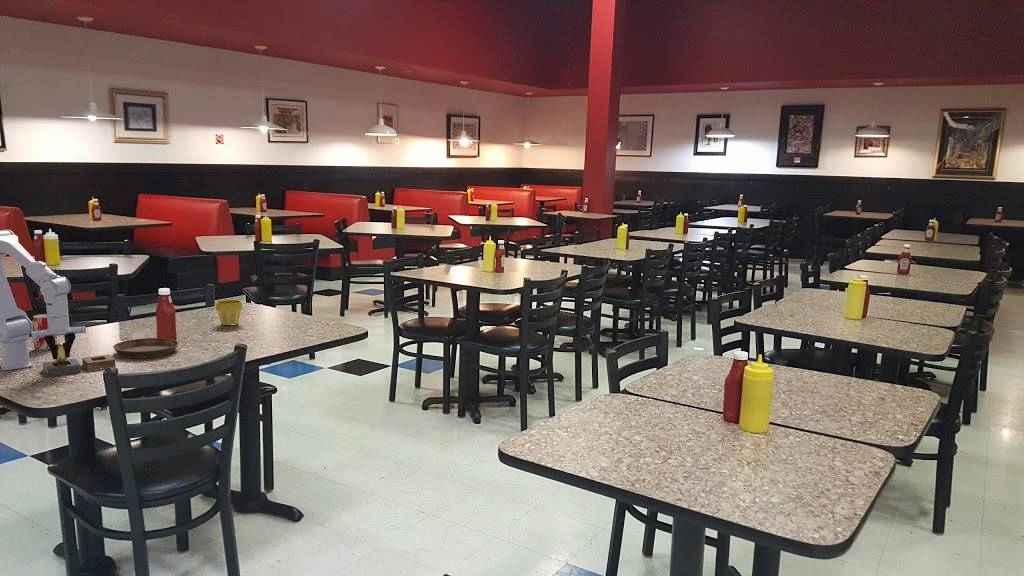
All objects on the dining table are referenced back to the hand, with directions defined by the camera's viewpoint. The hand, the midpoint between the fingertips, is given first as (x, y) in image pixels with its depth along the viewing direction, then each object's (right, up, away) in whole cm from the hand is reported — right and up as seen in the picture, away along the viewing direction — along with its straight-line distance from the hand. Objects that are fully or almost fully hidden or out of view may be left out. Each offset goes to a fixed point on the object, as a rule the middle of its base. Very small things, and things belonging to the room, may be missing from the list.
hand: (61, 357), depth 230 cm
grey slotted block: (0, -4, +1) cm, 4 cm away
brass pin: (0, -3, +1) cm, 3 cm away
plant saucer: (+14, -1, +26) cm, 30 cm away
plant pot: (+25, +7, +72) cm, 77 cm away
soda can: (-22, 0, +26) cm, 34 cm away
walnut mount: (+8, -3, +8) cm, 11 cm away
